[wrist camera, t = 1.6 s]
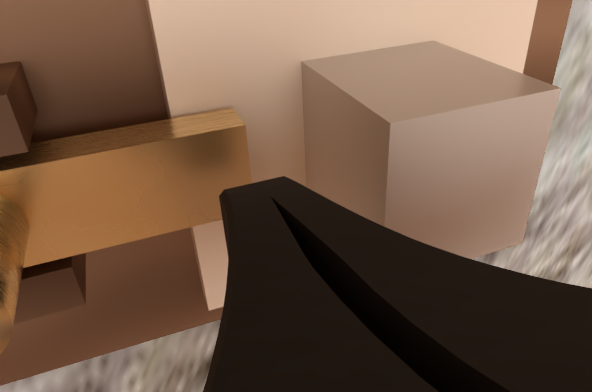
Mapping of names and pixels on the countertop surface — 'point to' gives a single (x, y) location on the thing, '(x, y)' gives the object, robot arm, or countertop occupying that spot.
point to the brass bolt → (113, 191)
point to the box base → (104, 116)
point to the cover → (370, 109)
